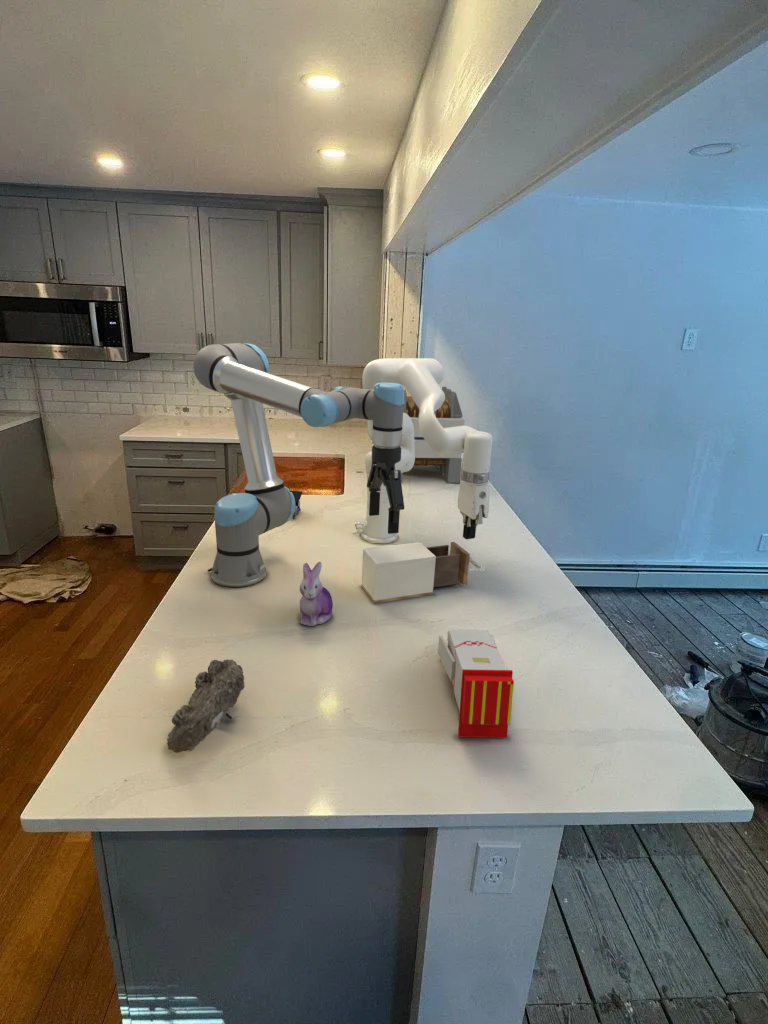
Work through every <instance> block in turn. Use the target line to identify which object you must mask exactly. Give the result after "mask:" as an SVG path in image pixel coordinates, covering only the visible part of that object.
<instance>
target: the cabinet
mask: <svg viewBox="0 0 768 1024" xmlns="http://www.w3.org/2000/svg"><path fill="white" fill-rule="evenodd" d="M435 560H436V556H435V555H434V554H433V553H431V552H430V551H429V550H428V549H427V548H426V546H425V545H423V543H421V542H420V541H418V542H408V543H401V544H392V545H391V544H390V545H381V546H375V547H374V546H373V547H367V548H362V564H361V565H362V569H361V570H362V571H361V588H362V589H363V590H364V592H365V593H366V594H367V595H368V597H369V598H370V600H371V601H372V602H373V603H374V604H380V603H382V604H383V603H388V602H394V601H401V600H406V599H412V598H419V597H426V596H432V595H434V587H433V585H434V572H435Z"/></svg>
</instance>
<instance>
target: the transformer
mask: <svg viewBox="0 0 768 1024" xmlns="http://www.w3.org/2000/svg"><path fill="white" fill-rule="evenodd" d="M441 389H442V391H443V392H444V394H445V400H444V402H443V404H442V405H441V406H440V407H439V408H438V409H437V410H436V411H435V412H434V414H435V416H436V418H437V420H438V421H439V423H440V424H441V426H442V427H443V428H448V427H457V426H465V419H464V418H463V411H462V408H461V405H460V402H459V398H458V395H457V392H455V391H453V390H452V389H451V388H447V386H442V387H441ZM407 394H408V392H407V390H406V389H404V402H405V404H404V410H403V413H406V414H407V415H408V416H409V417H410V418H411V420H412V423H413V426H414V444H415V462H414V466H413V467H415V466H416V467H417V466H418V467H436V468H437V470H438V469H439V473H440V474H441V475H443V478H444V479H445V481H446V482H447V483H449V484H455V483H456V484H459V483H461V474H462V463H463V457H462V453H457V454H451V455H445V456H442V455H438V454H436V453H435V452H434V451H433V450H432V449H431V448H430V447H429V445H428V444H427V442H426V441H425V439H424V438H423V436H422V434H421V432H420V428H419V413H420V410H419V408H418V406H417V405H416V403H415V402H414V400H413V399H412V397H411V396H410V395H407ZM403 475H404V472H403V473H401V483H402V482H403Z"/></svg>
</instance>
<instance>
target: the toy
mask: <svg viewBox="0 0 768 1024" xmlns="http://www.w3.org/2000/svg"><path fill="white" fill-rule="evenodd" d="M446 640H447V643H446V641H445V639H444V636H443V635H442V634H439V637H438V646H437V656H438V657H439V659H440V661H441V663H442V666H443V668H444V670H445V672H446V674H447V677H448V679H449V681H450V684H451V687H452V690H453V693H454V697H455V701H456V705H457V708H458V711H459V714H458V715H459V716H458V730H457V731H458V732H457V737H458V738H508V731H509V726H510V725H511V717H512V707H513V697H514V696H513V695H514V684H515V680H514V679H513V673H514V671H513V670H512V669H508V667H507V665H506V662H505V661H504V659H503V658H502V655H501V653H500V651H499V649H498V647H497V643H496V639H495V637H494V635H493V634H491V632H490V631H489V629H467V628H466V629H465V628H463V629H461V628H460V629H459V628H448V630H447V639H446Z"/></svg>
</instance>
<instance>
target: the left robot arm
mask: <svg viewBox="0 0 768 1024" xmlns="http://www.w3.org/2000/svg"><path fill="white" fill-rule="evenodd" d="M192 366H193V367H192V369H193V373H194V376H195V378H196V380H197V382H199V383H200V384H201V385H202V386H203V387H205V388H207V389H209V390H212V391H214V392H216V393H217V392H218V393H220V394H223V396H225V397H226V398H227V399H228V400H230V402H231V407H232V411H233V417H234V422H235V426H236V431H237V435H238V436H237V437H238V440H239V445H240V450H241V455H242V459H243V463H244V469H245V473H246V478H247V483H246V485H245V486H244V488H243V489H244V490H243V491H244V492H237V493H231V494H230V493H229V494H227V495H225V496H223V497H221V498H219V499H218V501H216V503H215V505H214V514H213V515H214V516H213V519H214V528H215V529H214V531H215V543H216V554H215V558H214V561H213V565H212V567H211V568H208V569H207V572H208V573H210V572H211V580H212V581H213V582H214V583H215V584H217V585H220V586H223V587H227V588H243V587H249V586H252V585H253V586H254V585H255V584H258V583H260V582H261V581H263V580H264V579H265V578H266V577H267V567H266V562H265V561H264V558H263V556H262V554H261V551H260V544H259V543H260V540H259V538H260V537H259V536H261V535H263V534H265V533H267V532H269V531H272V530H274V529H276V528H279V527H282V526H283V525H285V524H286V523H287V522H289V521H290V520H291V519H293V514H294V512H295V498H294V496H293V494H292V492H290V491H291V490H290V489H289V488H288V487H287V486H285V484H284V482H285V481H284V480H282V479H281V478H280V477H278V474H277V470H276V469H277V468H276V465H275V459H274V453H273V449H272V448H273V447H272V444H271V439H270V433H269V429H268V424H267V419H266V413H265V408H264V405H266V406H269V407H271V408H274V409H277V410H280V411H283V412H286V413H289V414H290V415H291V414H292V415H295V416H298V417H300V418H302V420H303V422H305V423H306V425H307V426H310V427H312V428H326V427H329V426H331V425H334V424H338V423H341V422H345V421H349V420H353V419H361V420H373V428H372V441H371V444H372V446H371V450H372V466H371V470H370V474H369V478H368V482H366V489H367V488H369V492H371V493H370V505H369V515H370V516H376V515H379V508H380V492H377V491H381V489H380V487H381V485H382V483H383V485H384V486H385V487H386V490H387V495H388V499H389V503H390V508H389V509H388V510H389V517H388V534H393V533H397V534H399V532H400V531H399V530H400V515H401V513H400V512H401V511H403V510H405V501H404V494H403V486H402V482H401V471H400V470H395V464H396V463H398V462H400V460H401V447H400V445H401V444H402V436H403V432H402V427H403V426H402V424H403V410H404V404H405V402H404V390H405V387H404V385H400V384H397V383H377V384H375V386H374V390H367V389H364V388H359V387H353V386H349V385H347V386H342V385H341V386H336V387H334V389H333V390H332V391H325V390H321V389H317V388H314V387H311V386H309V385H305V384H303V383H299V382H296V381H293V380H290V379H288V378H284V377H282V376H278V375H275V374H272V373H270V364H269V360H268V358H267V356H266V354H265V352H264V351H263V350H262V349H261V348H259V347H258V346H257V345H255V344H253V343H248V342H247V343H246V342H234V343H233V342H232V343H220V344H219V343H215V344H214V343H213V344H208V345H206V346H204V347H202V348H201V349H200V350H198V352H197V353H196V355H195V356H194V358H193V364H192ZM371 482H372V483H371Z"/></svg>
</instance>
